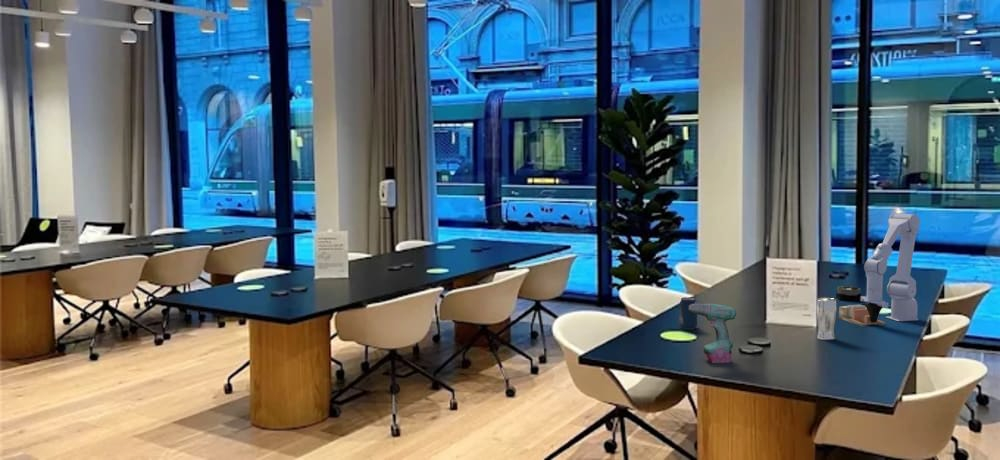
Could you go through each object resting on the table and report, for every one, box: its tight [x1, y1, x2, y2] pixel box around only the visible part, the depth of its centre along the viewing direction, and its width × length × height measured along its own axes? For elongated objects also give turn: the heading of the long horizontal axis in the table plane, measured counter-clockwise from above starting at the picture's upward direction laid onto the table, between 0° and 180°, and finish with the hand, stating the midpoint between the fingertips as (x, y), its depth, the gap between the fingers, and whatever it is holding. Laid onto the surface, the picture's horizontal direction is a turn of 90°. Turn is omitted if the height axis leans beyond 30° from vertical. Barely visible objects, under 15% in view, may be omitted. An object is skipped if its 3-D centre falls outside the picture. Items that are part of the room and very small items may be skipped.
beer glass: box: [816, 297, 837, 341], centre depth 301 cm, size 7×7×15 cm
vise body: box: [838, 305, 886, 327], centre depth 328 cm, size 10×15×5 cm
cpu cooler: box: [835, 285, 862, 302], centre depth 375 cm, size 10×6×10 cm
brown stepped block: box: [852, 308, 879, 326], centre depth 326 cm, size 7×8×5 cm
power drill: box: [689, 303, 737, 364], centre depth 273 cm, size 7×16×20 cm, turn 95°
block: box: [846, 304, 866, 319], centre depth 331 cm, size 6×4×6 cm, turn 101°
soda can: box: [679, 296, 698, 330], centre depth 322 cm, size 7×7×12 cm
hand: (873, 322), depth 321 cm, fingers closed
